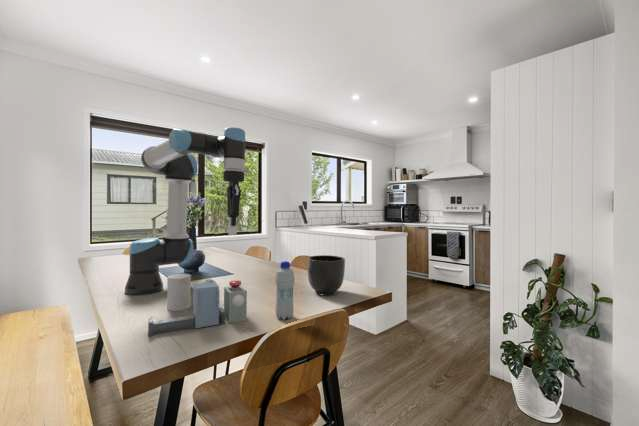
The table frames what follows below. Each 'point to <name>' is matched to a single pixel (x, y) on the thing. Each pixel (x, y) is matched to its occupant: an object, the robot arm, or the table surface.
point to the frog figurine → (208, 281)
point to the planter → (326, 273)
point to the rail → (176, 323)
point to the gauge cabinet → (235, 304)
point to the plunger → (234, 285)
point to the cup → (178, 292)
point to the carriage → (206, 304)
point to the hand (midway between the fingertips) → (232, 234)
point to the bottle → (284, 291)
